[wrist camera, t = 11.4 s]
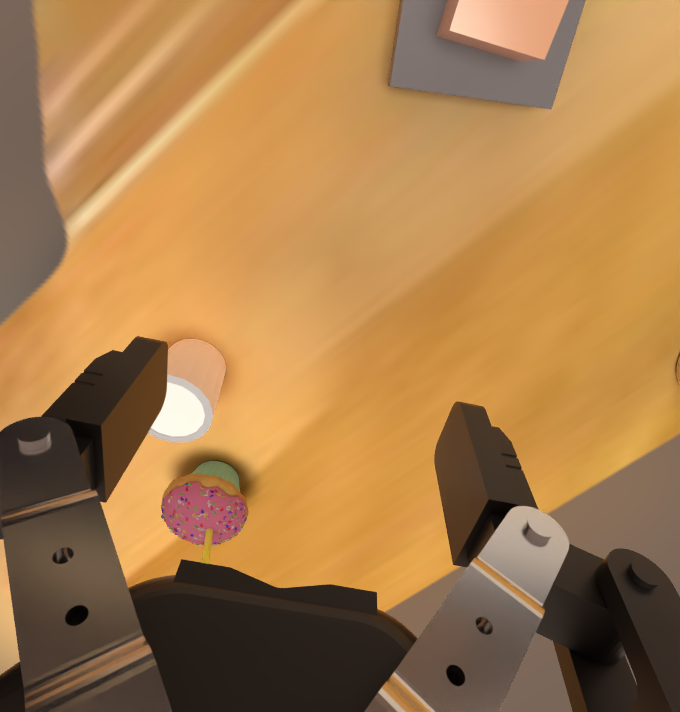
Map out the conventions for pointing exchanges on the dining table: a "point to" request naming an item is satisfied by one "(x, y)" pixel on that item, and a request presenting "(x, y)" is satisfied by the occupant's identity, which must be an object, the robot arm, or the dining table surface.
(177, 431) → the light grey piece
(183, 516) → the cupcake
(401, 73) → the charcoal block
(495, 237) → the dining table surface
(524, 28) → the terracotta cube
